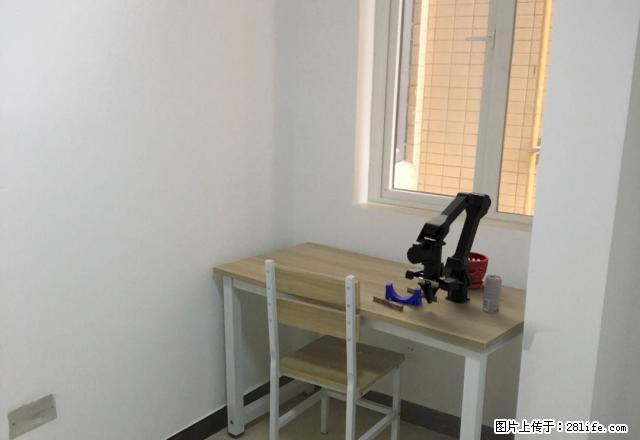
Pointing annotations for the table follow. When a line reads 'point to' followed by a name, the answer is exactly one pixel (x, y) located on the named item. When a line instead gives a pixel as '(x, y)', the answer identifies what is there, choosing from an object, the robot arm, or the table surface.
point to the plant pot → (477, 268)
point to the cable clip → (410, 300)
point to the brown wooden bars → (393, 304)
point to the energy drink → (492, 294)
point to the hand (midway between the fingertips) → (429, 303)
